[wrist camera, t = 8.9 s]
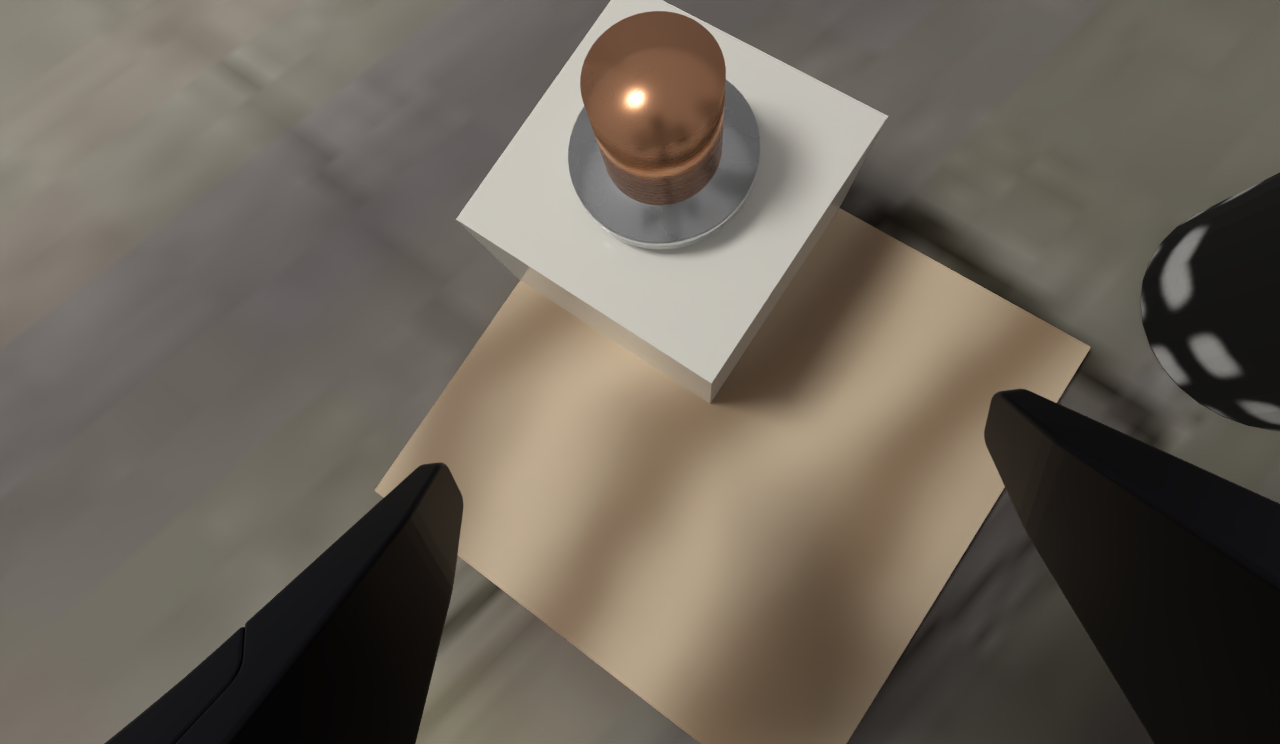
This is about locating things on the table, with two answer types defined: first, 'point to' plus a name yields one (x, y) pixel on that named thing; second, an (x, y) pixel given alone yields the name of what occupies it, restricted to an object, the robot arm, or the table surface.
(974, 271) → the table surface
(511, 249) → the white square block
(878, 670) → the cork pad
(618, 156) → the plunger
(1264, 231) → the white-spotted black cylinder
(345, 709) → the robot arm
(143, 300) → the table surface
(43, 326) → the table surface
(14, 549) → the table surface
